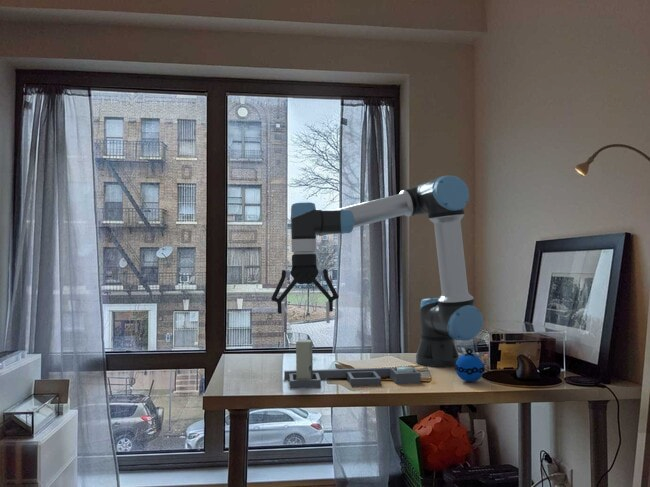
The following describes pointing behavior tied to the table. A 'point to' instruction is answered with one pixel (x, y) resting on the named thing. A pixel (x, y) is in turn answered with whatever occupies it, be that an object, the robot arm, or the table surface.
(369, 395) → the table surface
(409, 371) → the release button
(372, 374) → the panel
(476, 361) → the ornament
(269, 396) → the table surface
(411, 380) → the button collar
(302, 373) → the box
